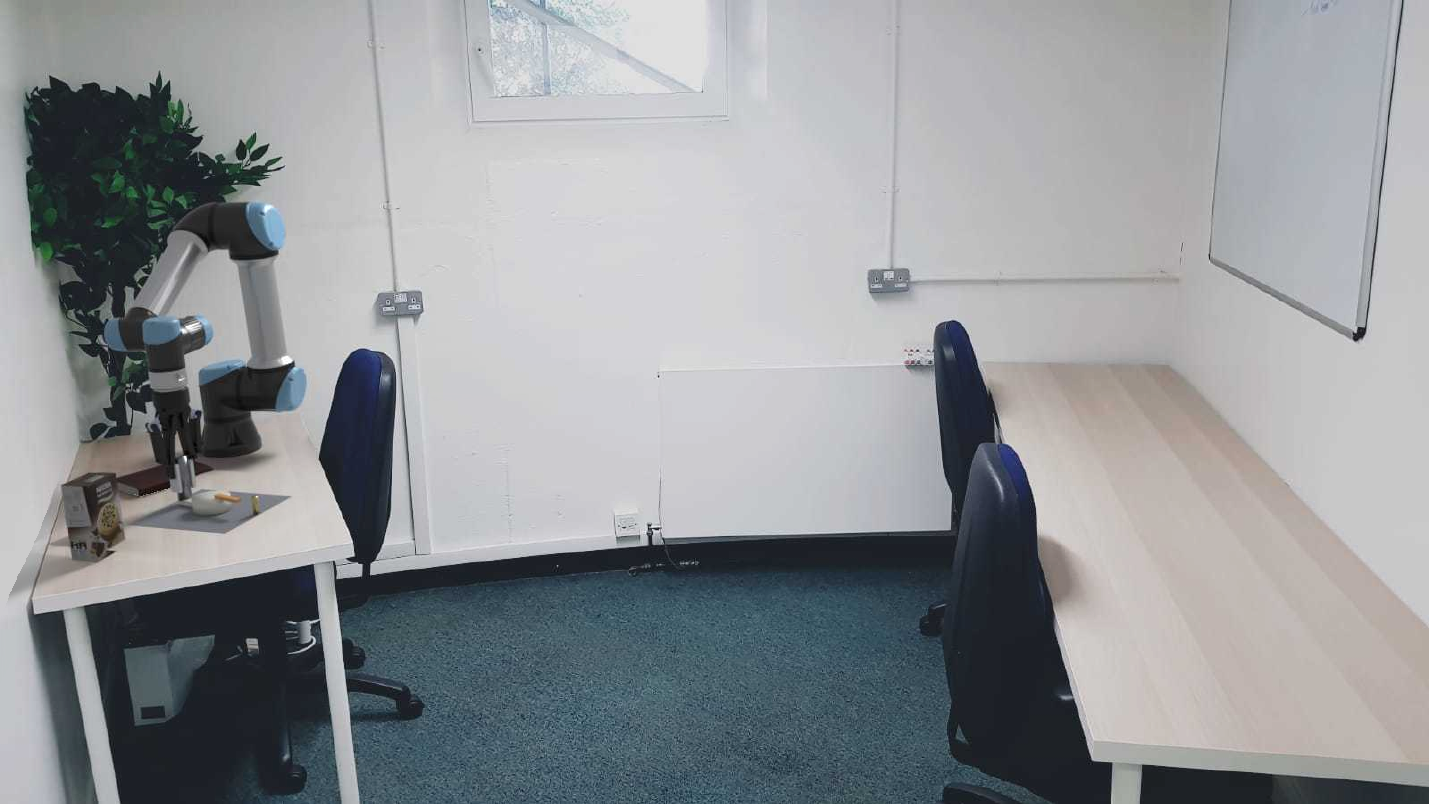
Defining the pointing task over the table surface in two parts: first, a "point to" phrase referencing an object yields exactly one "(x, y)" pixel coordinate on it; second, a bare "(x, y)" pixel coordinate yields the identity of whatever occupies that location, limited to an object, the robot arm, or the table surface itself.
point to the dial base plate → (218, 523)
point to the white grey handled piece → (202, 494)
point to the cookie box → (93, 515)
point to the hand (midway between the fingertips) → (183, 489)
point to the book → (151, 479)
